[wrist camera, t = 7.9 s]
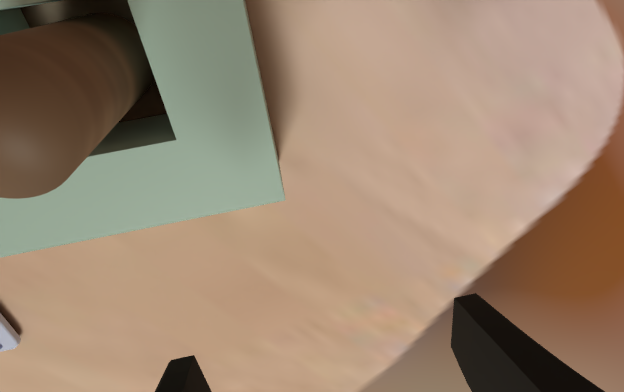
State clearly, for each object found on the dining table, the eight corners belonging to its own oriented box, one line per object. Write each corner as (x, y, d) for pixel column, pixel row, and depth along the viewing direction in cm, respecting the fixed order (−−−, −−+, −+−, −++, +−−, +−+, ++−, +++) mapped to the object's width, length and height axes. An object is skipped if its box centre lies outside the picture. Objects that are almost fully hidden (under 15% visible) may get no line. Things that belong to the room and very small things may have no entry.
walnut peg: (92, 108, 15) (-32, 214, 9) (47, 24, 14) (-151, 71, 7) (169, 89, 15) (107, 178, 9) (134, 3, 14) (22, 28, 7)
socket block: (40, 209, 17) (-4, 257, 14) (-144, -90, 12) (-282, -114, 9) (278, 162, 18) (285, 200, 15) (214, -145, 12) (203, -185, 9)
